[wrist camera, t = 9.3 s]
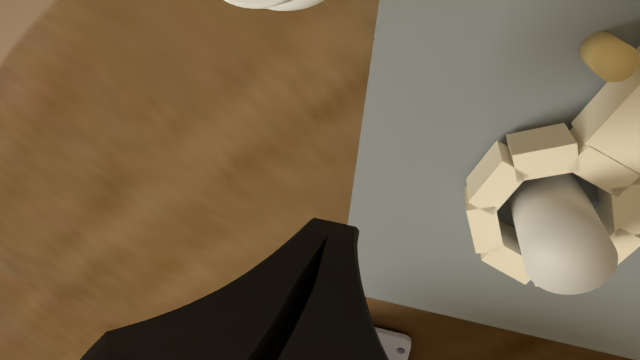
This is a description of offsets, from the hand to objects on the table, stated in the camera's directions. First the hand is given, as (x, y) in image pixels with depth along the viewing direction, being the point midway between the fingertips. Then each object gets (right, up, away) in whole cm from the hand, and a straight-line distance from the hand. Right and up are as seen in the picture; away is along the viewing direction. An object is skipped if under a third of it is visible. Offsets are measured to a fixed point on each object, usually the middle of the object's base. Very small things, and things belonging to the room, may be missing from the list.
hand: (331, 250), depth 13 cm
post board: (+9, +2, +7) cm, 12 cm away
